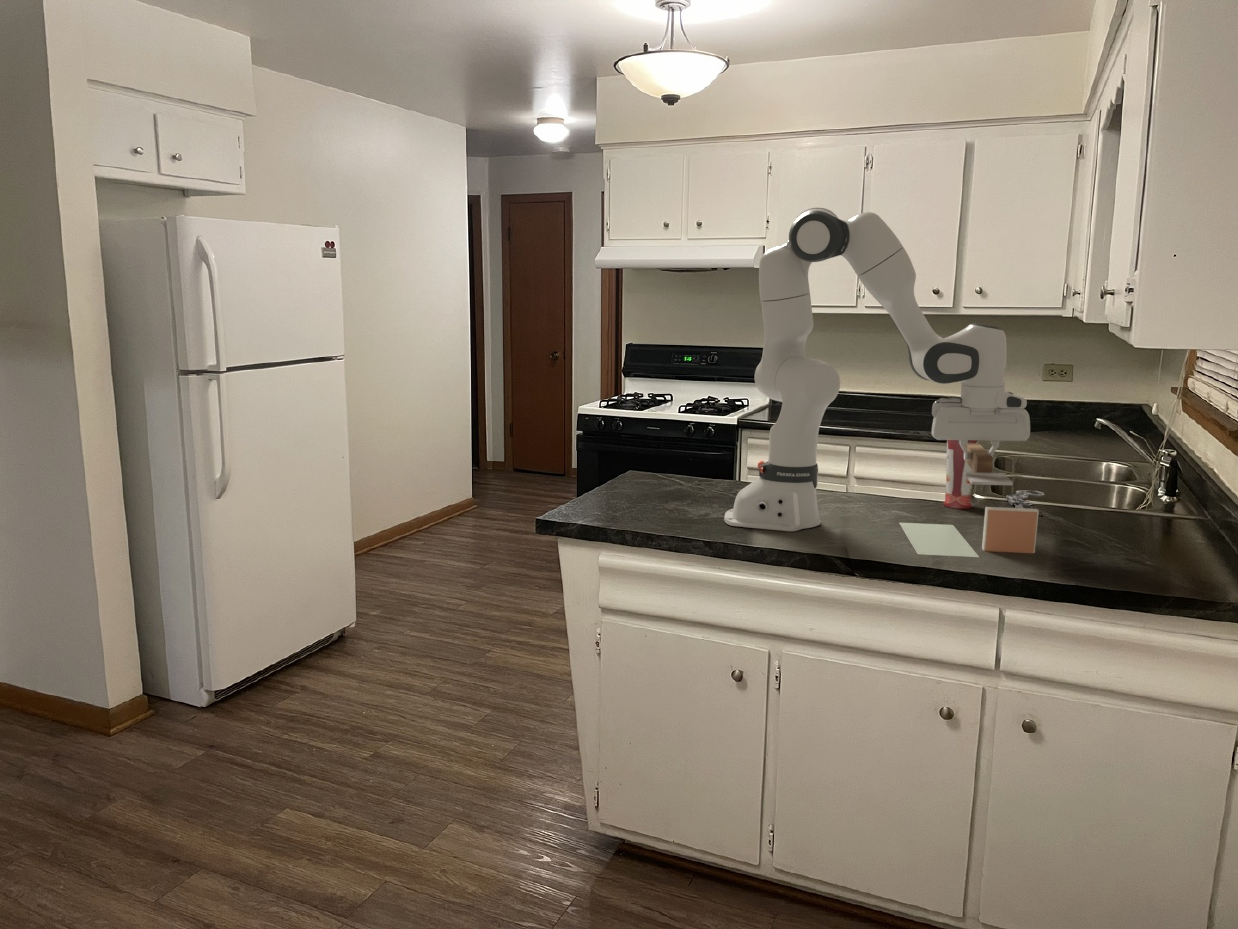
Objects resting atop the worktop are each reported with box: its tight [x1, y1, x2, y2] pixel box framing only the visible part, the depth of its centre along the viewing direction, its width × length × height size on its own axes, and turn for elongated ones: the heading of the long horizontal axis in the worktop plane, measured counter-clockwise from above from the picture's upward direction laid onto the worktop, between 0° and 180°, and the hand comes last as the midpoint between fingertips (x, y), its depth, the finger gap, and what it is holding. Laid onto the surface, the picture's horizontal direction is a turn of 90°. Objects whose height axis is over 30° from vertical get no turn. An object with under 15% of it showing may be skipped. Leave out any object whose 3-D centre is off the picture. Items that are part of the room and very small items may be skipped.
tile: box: [981, 506, 1040, 554], centre depth 184 cm, size 10×2×10 cm, turn 81°
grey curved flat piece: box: [1005, 489, 1046, 516], centre depth 233 cm, size 28×2×10 cm
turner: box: [965, 442, 1014, 486], centre depth 195 cm, size 22×8×4 cm, turn 170°
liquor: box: [942, 440, 979, 510], centre depth 222 cm, size 7×7×28 cm
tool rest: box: [898, 522, 980, 558], centre depth 194 cm, size 12×26×1 cm, turn 171°
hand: (978, 459), depth 199 cm, fingers closed on turner, 3 cm apart
